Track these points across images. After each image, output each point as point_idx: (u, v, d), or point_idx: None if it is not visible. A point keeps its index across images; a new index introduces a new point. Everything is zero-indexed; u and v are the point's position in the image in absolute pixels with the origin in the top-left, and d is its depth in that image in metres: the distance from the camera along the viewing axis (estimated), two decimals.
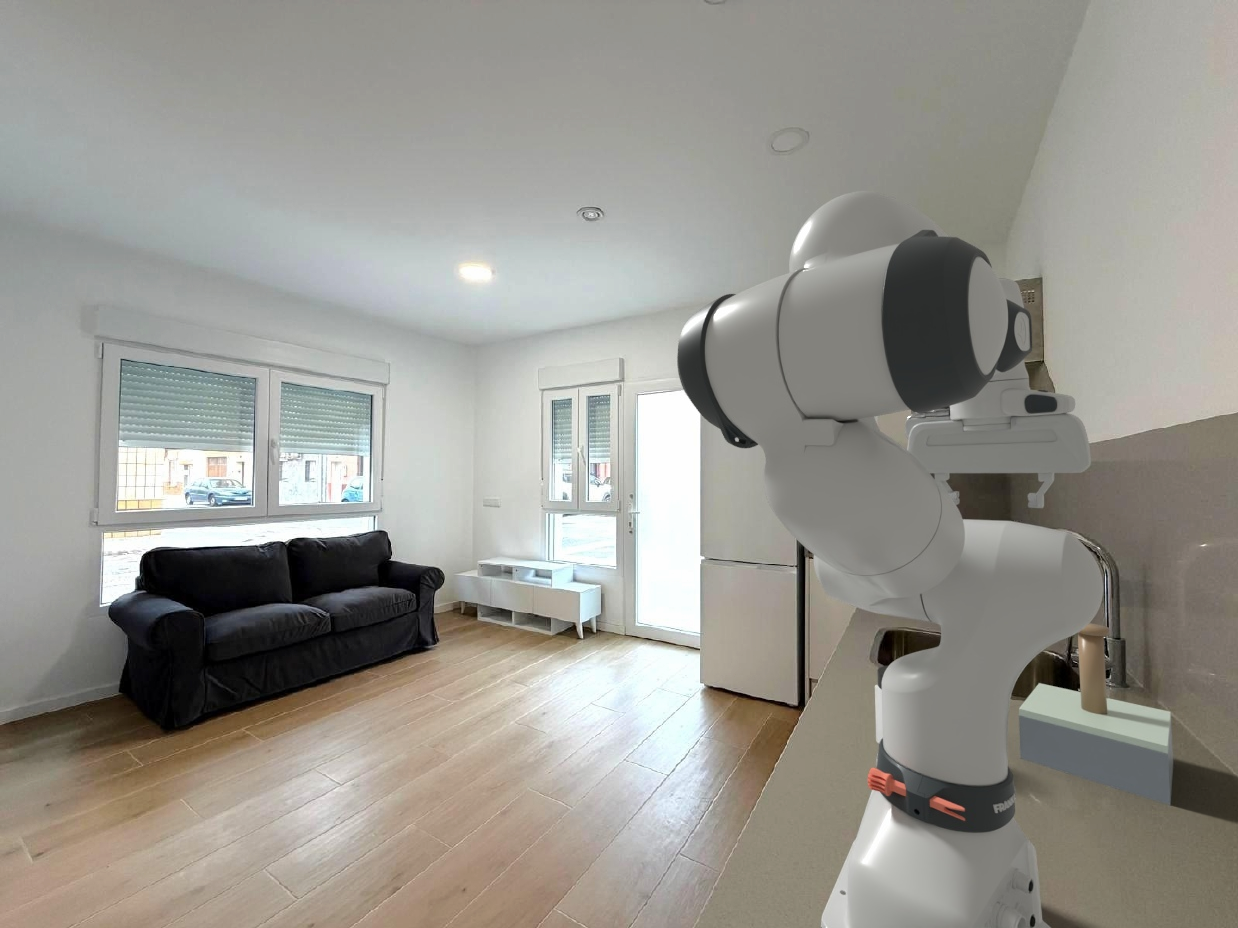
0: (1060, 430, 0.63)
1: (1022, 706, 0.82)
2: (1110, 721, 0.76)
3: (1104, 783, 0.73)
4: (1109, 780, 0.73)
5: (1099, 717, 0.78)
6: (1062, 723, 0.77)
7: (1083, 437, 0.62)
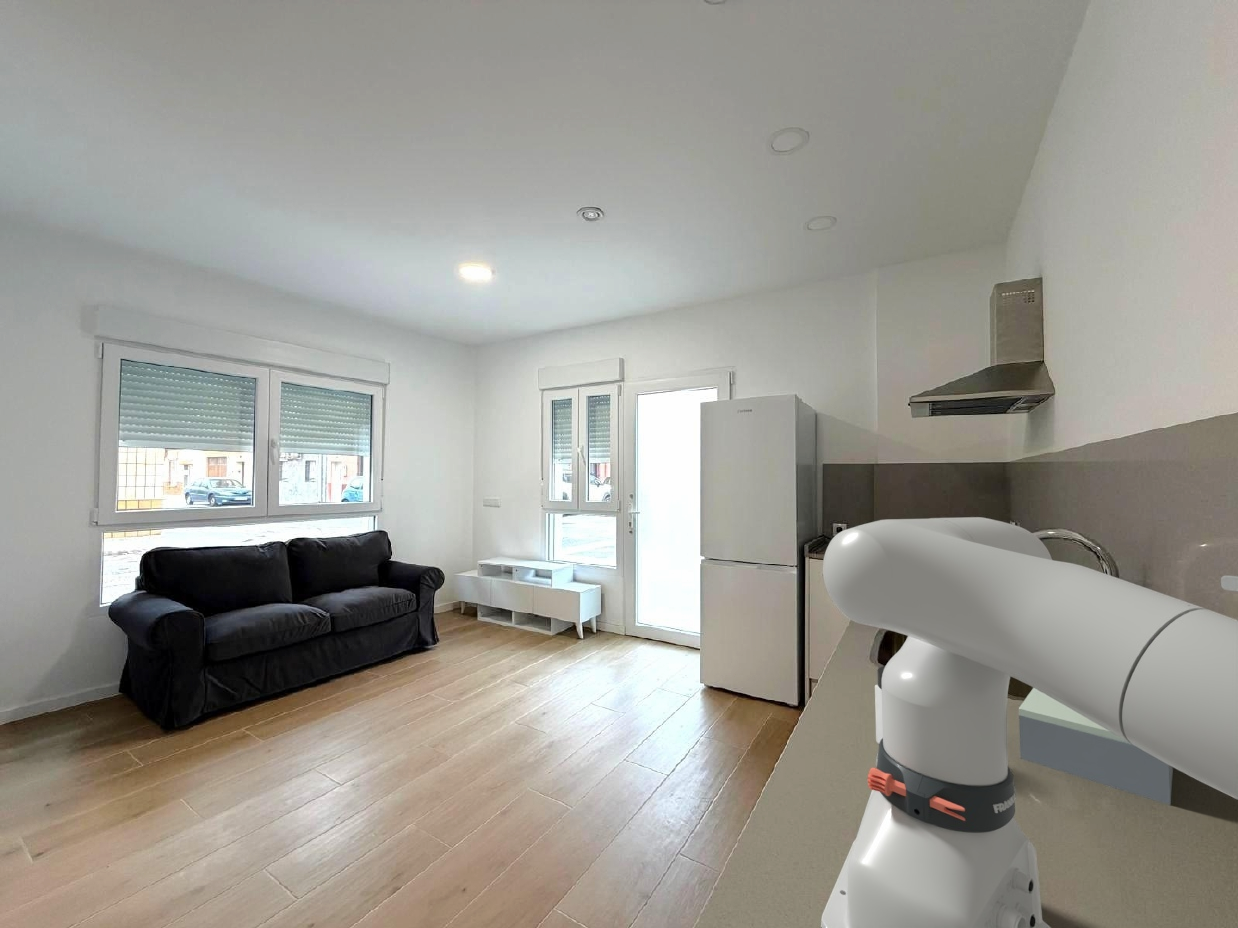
0: None
1: (1021, 706, 0.82)
2: None
3: (1104, 783, 0.73)
4: (1109, 780, 0.73)
5: None
6: (1062, 723, 0.77)
7: None
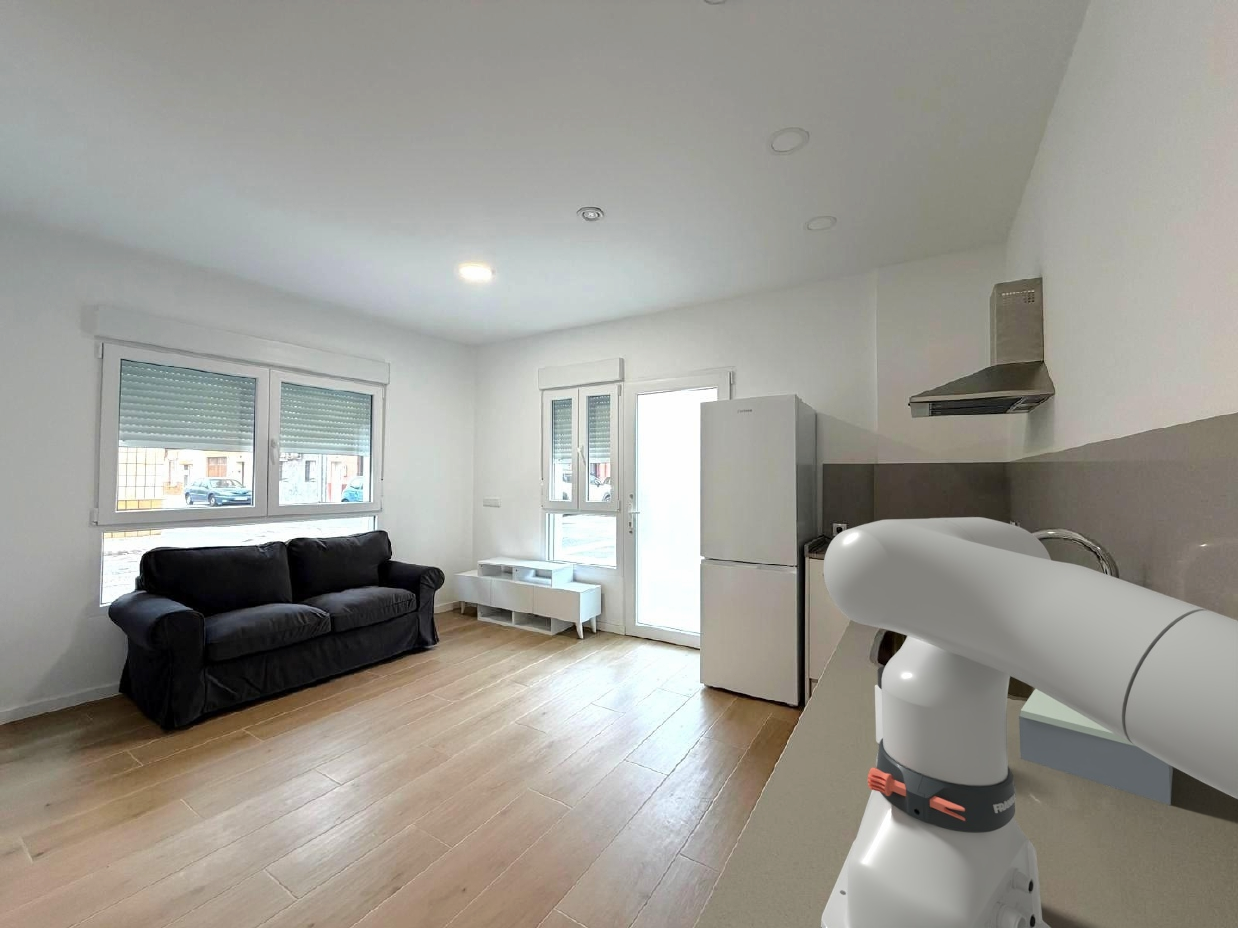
0: None
1: (1024, 707, 0.81)
2: None
3: (1104, 783, 0.73)
4: (1109, 780, 0.73)
5: None
6: (1064, 725, 0.76)
7: None
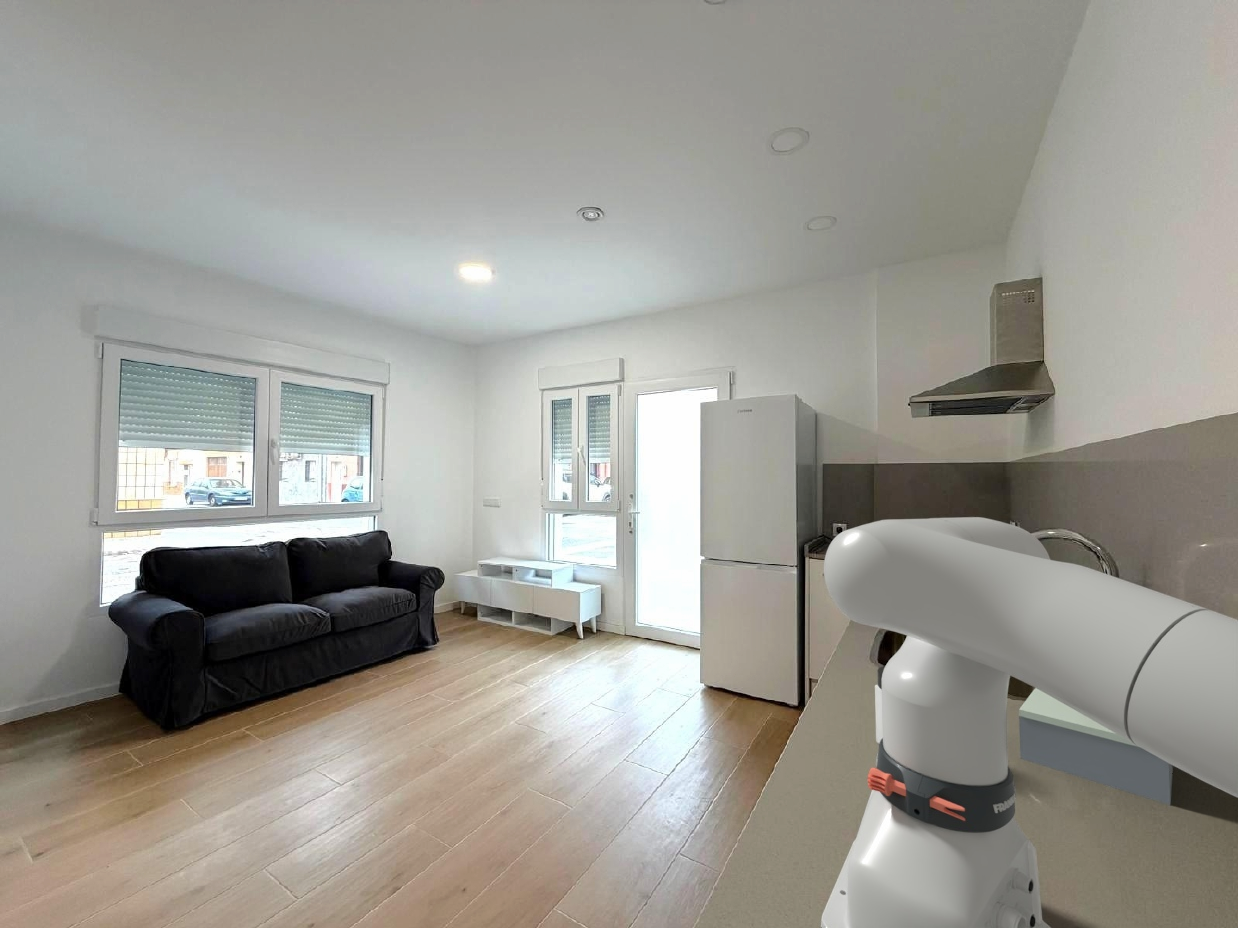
0: None
1: (1022, 707, 0.81)
2: None
3: (1104, 783, 0.73)
4: (1109, 780, 0.73)
5: None
6: (1062, 724, 0.77)
7: None
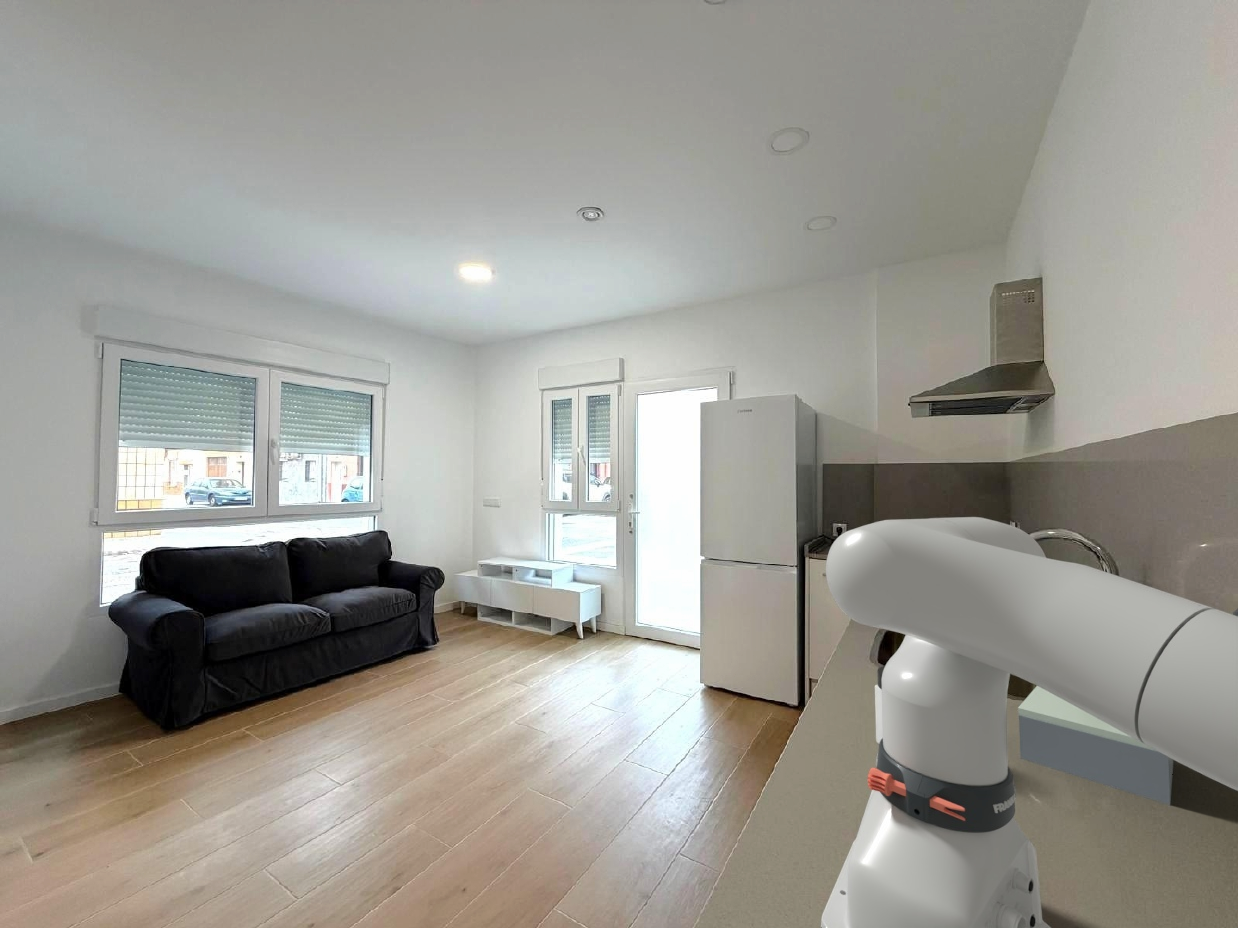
0: None
1: (1021, 705, 0.82)
2: None
3: (1104, 783, 0.73)
4: (1109, 780, 0.73)
5: None
6: (1061, 722, 0.77)
7: None
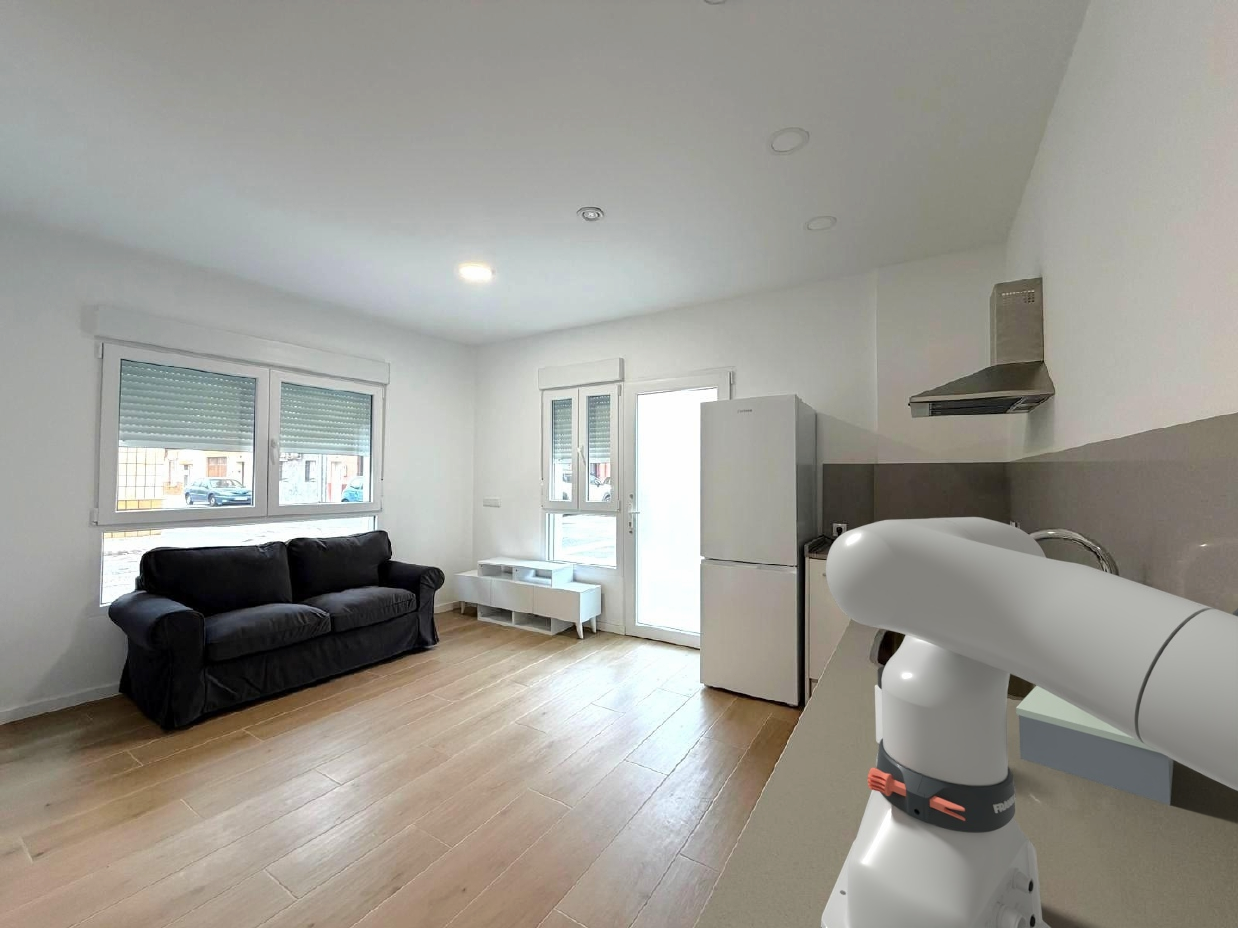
0: None
1: (1019, 705, 0.82)
2: None
3: (1104, 783, 0.73)
4: (1109, 780, 0.73)
5: None
6: (1059, 722, 0.77)
7: None
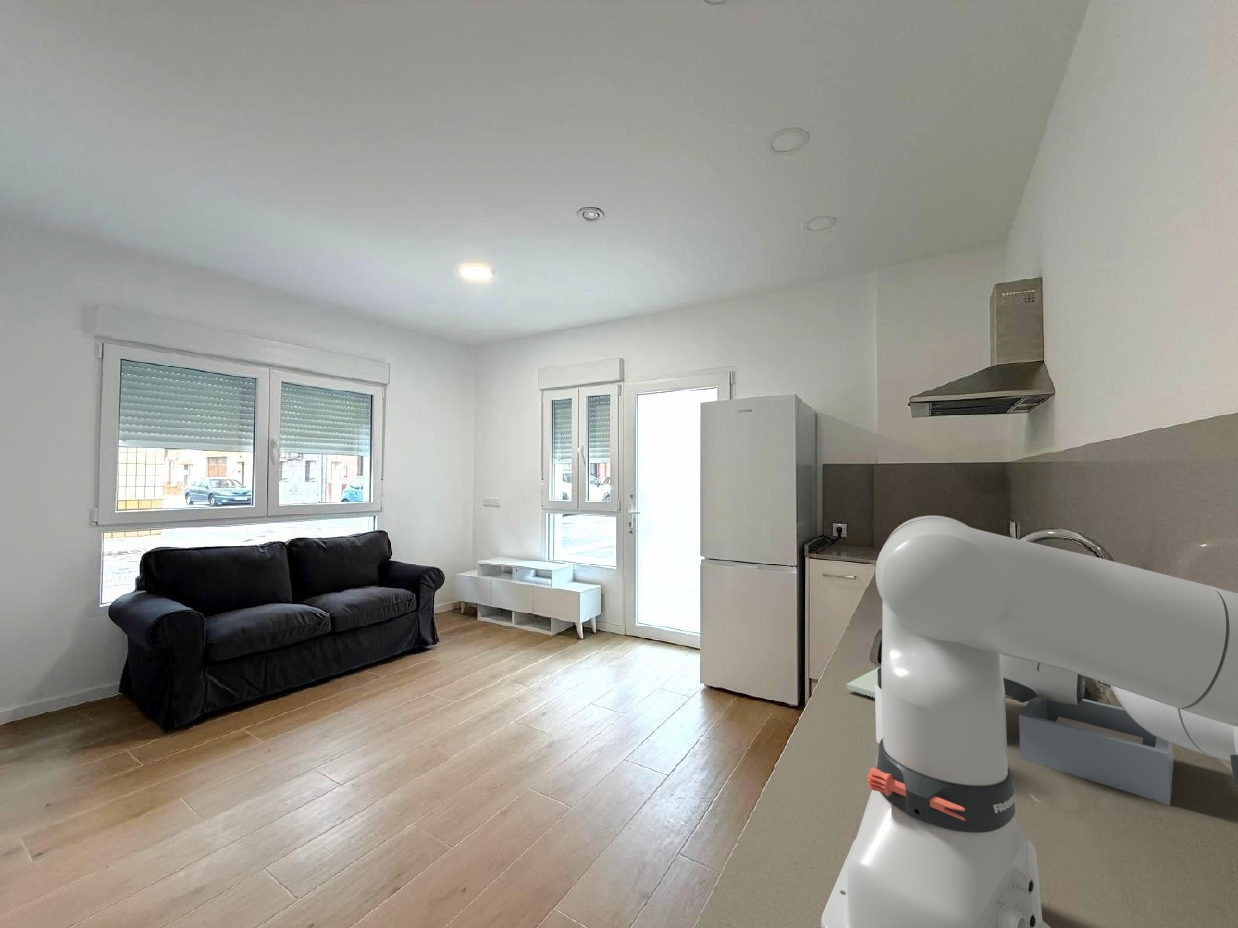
0: None
1: (850, 682, 1.07)
2: None
3: (1104, 782, 0.73)
4: (1109, 779, 0.73)
5: None
6: (872, 694, 1.02)
7: None
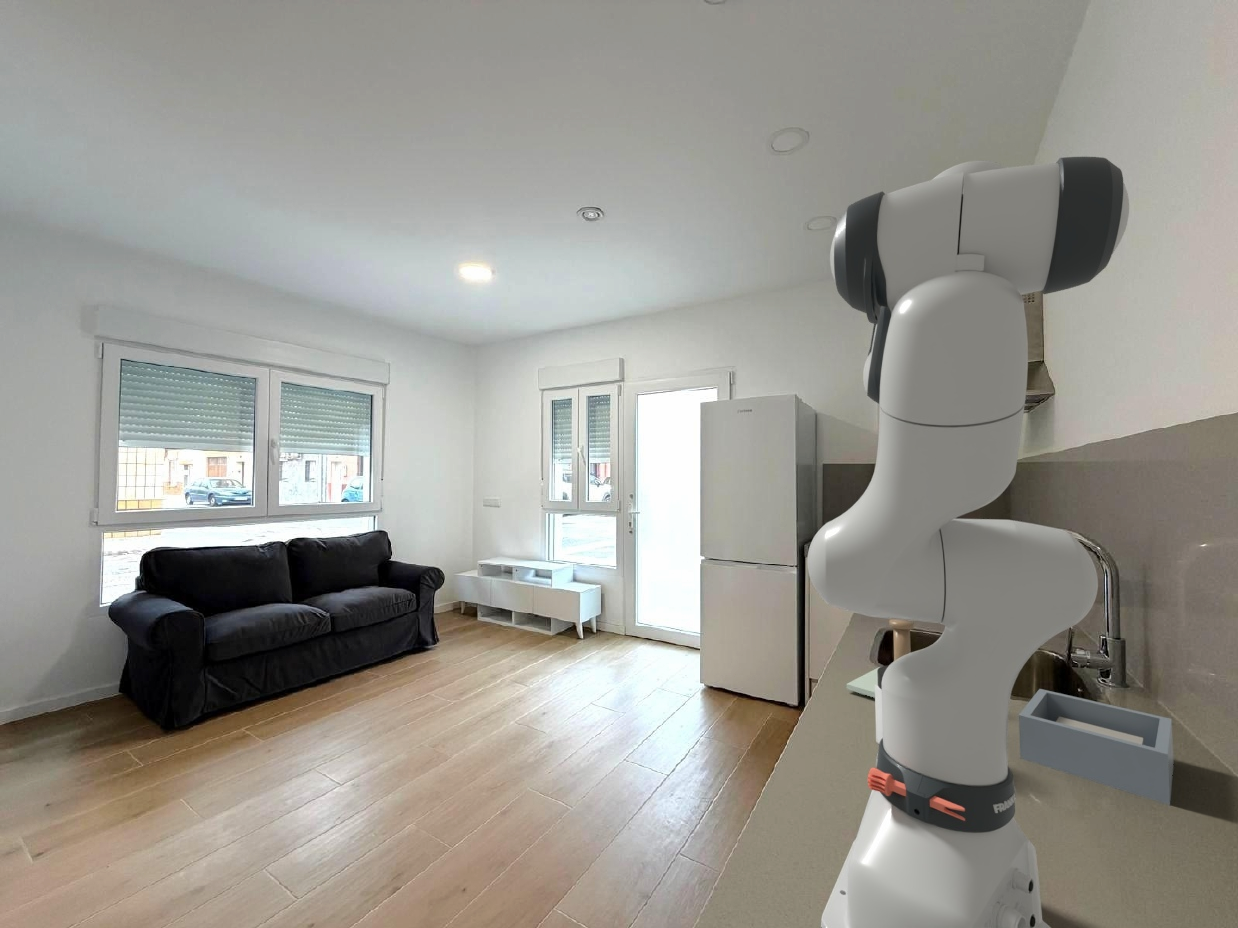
0: None
1: (850, 682, 1.07)
2: None
3: (1104, 783, 0.73)
4: (1109, 780, 0.73)
5: None
6: (872, 694, 1.02)
7: None
